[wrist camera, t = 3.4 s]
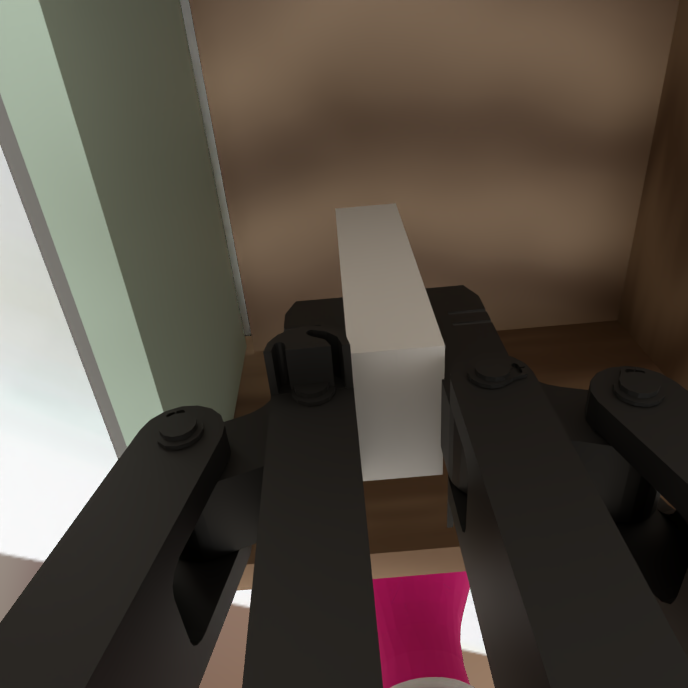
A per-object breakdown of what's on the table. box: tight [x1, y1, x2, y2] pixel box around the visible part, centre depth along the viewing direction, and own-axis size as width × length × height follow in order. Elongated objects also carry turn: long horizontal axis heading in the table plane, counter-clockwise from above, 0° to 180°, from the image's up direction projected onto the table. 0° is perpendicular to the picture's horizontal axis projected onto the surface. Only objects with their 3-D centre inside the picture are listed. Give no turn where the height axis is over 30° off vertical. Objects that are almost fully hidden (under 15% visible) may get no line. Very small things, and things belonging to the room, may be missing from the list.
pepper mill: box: [373, 571, 474, 688], centre depth 28 cm, size 7×7×20 cm
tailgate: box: [0, 0, 247, 459], centre depth 19 cm, size 17×2×12 cm, turn 4°
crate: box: [189, 0, 688, 590], centre depth 19 cm, size 20×20×14 cm
